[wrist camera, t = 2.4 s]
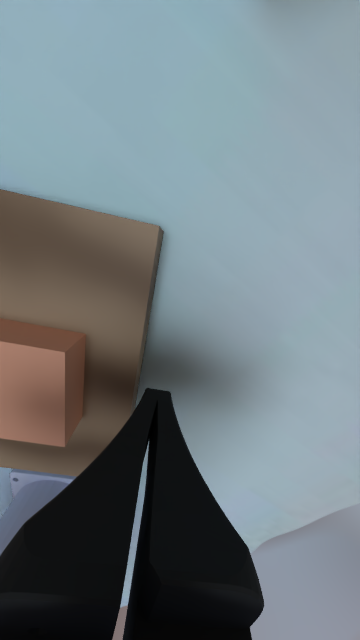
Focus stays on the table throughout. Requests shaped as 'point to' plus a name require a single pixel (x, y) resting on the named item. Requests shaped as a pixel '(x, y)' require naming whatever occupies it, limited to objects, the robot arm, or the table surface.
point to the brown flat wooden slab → (80, 311)
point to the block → (40, 382)
